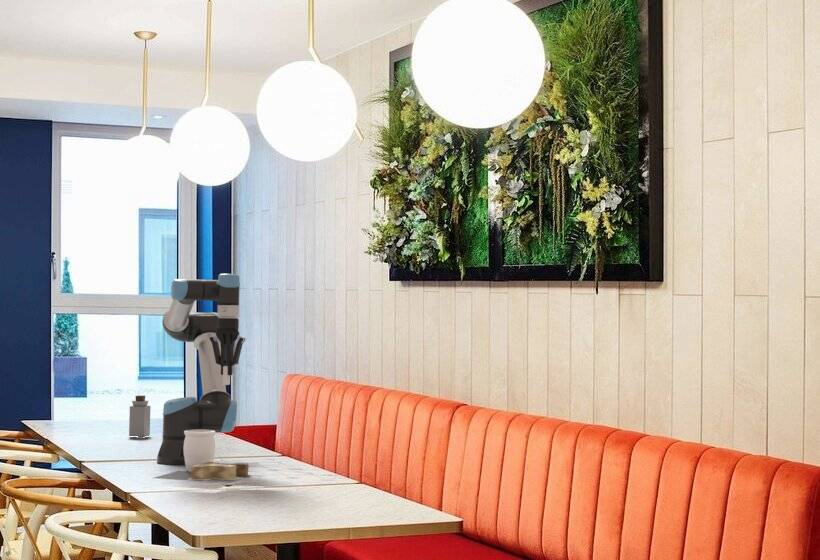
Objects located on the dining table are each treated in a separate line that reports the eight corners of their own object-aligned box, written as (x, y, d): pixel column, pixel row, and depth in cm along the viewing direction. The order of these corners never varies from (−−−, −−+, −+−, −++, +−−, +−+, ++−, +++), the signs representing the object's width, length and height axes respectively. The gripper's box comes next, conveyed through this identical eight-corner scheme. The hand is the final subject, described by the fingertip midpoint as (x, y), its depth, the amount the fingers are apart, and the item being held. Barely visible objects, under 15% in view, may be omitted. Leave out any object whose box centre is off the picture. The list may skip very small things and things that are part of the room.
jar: (176, 476, 375) (177, 431, 375) (193, 472, 384) (194, 428, 385) (204, 478, 371) (205, 432, 371) (220, 474, 380) (221, 430, 381)
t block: (191, 478, 358) (191, 466, 358) (207, 473, 369) (208, 461, 369) (225, 481, 354) (225, 468, 354) (241, 476, 366) (241, 463, 366)
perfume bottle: (134, 436, 488) (136, 394, 488) (149, 436, 487) (150, 395, 487) (128, 437, 481) (130, 396, 482) (143, 438, 480) (144, 396, 481)
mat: (152, 481, 358) (152, 477, 358) (178, 474, 375) (178, 470, 375) (229, 486, 351) (229, 482, 351) (252, 478, 368) (252, 475, 368)
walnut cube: (234, 476, 365) (234, 464, 365) (236, 474, 369) (236, 462, 369) (246, 476, 365) (246, 464, 365) (248, 475, 369) (248, 462, 369)
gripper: (206, 317, 391) (204, 384, 391) (240, 317, 388) (239, 385, 387) (215, 317, 399) (214, 383, 398) (249, 318, 395) (247, 384, 394)
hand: (226, 384), depth 392 cm, fingers closed
